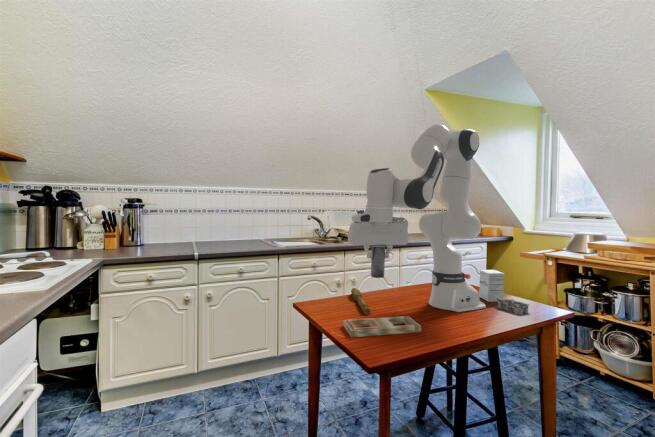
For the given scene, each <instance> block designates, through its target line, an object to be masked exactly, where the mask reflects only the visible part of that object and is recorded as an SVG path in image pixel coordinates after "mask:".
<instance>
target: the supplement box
mask: <svg viewBox="0 0 655 437" xmlns="http://www.w3.org/2000/svg"><path fill="white" fill-rule="evenodd" d="M504 289H505V272H501V271H499V270H496V269H480V270H479V290H478V293H479V298H481V299H482V300H484V301H485V302H488V303H489V302H491V303H492V302H493V303H498V302H499V300H504V292H505V290H504ZM497 298H498V299H499V300H497Z"/></svg>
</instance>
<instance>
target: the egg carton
mask: <svg viewBox="0 0 655 437" xmlns="http://www.w3.org/2000/svg"><path fill="white" fill-rule="evenodd" d="M497 300H499V299H498V298H497ZM529 306H531V303H529V304H528V303H525V302H523V301H518V300H515V299H514V298H508V299H503V300H499V302H497V308H498V309H500V310H505V311H507V312H510V313H511V312H512V313H513V314H515V315H523V314H528V313H529Z"/></svg>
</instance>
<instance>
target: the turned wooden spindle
mask: <svg viewBox="0 0 655 437" xmlns="http://www.w3.org/2000/svg"><path fill="white" fill-rule="evenodd" d="M350 292H351V296H352V299H353V300H354V302H358V305H359V306H360V309H361V311H362V312H363V314H364V316H369V315H370V314H371V311H372V310H371V308H370V307H369V305H368V304H367V303H366V302H365V300H364V299H363V294H362V293H361V291H360V289H357V288H351V290H350Z"/></svg>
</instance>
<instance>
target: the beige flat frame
mask: <svg viewBox="0 0 655 437" xmlns="http://www.w3.org/2000/svg"><path fill="white" fill-rule="evenodd" d="M402 324H403V325H402ZM343 327H344V329H345V331H346V332H347V333H348V334H349V336H350V337H351V338H357V337H359V338H361V337H373V336H384V335H385V336H387V335H399V334H412V333H413V334H414V333H421V332H422V325H421V324H419V323H418V322H416V320H414V319H413V318H412V317H411V316H409V315H404V316H403V315H402V316H392V317H391V316H388V317H375V318H374V317H372V318H371V317H370V318H367V317H365V318H353V319H344V320H343Z"/></svg>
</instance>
